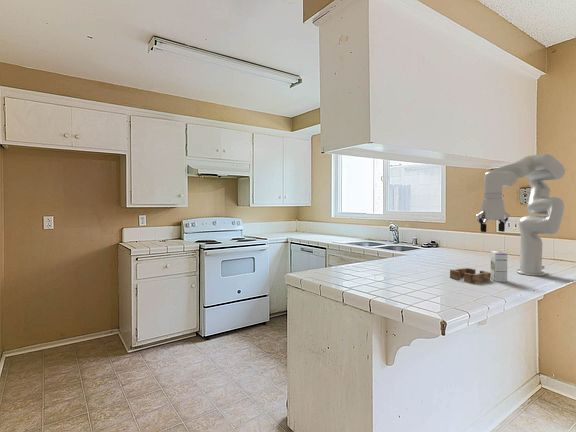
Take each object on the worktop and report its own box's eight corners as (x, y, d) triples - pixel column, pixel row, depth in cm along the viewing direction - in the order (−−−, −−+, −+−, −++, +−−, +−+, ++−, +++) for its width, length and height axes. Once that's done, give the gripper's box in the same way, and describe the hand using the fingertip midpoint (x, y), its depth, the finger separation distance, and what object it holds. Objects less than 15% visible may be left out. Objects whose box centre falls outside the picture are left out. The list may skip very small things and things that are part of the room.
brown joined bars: (466, 275, 176) (466, 267, 176) (491, 280, 164) (491, 272, 164) (448, 277, 170) (449, 270, 170) (473, 283, 158) (473, 275, 158)
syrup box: (507, 281, 161) (508, 252, 160) (494, 281, 162) (495, 252, 161) (502, 279, 166) (503, 250, 166) (489, 278, 168) (490, 250, 167)
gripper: (503, 196, 166) (502, 230, 167) (471, 197, 164) (471, 231, 164) (515, 196, 158) (514, 232, 159) (482, 196, 156) (481, 232, 157)
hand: (492, 231), depth 162 cm, fingers open, 9 cm apart
